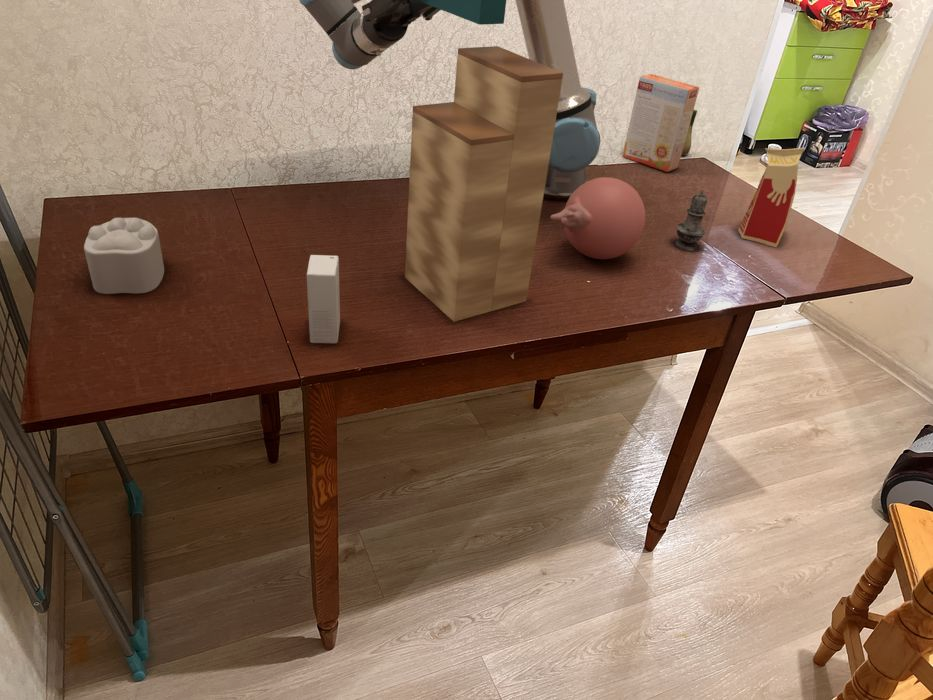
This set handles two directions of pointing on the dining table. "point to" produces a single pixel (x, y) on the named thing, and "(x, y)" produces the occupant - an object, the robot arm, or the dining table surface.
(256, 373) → the dining table surface
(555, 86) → the step stand
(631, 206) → the balloon
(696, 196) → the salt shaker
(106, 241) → the lumpy-topped squat cylinder
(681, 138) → the cracker box
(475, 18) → the long teal rectangular block
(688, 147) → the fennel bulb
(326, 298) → the cosmetic box
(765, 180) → the red printed carton
